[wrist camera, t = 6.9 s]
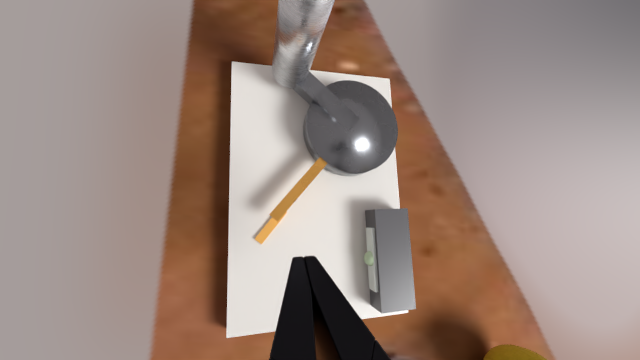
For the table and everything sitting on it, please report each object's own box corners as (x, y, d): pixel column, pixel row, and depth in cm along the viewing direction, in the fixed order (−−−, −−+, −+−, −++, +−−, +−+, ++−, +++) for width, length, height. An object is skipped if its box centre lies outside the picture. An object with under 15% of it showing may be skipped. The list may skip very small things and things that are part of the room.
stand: (398, 307, 24) (422, 321, 20) (228, 329, 20) (223, 351, 17) (382, 86, 27) (400, 67, 24) (233, 71, 23) (229, 46, 20)
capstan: (309, 250, 21) (366, 282, 10) (188, 146, 20) (107, 58, 9) (401, 132, 24) (514, 64, 14) (304, 41, 23) (344, -111, 13)
